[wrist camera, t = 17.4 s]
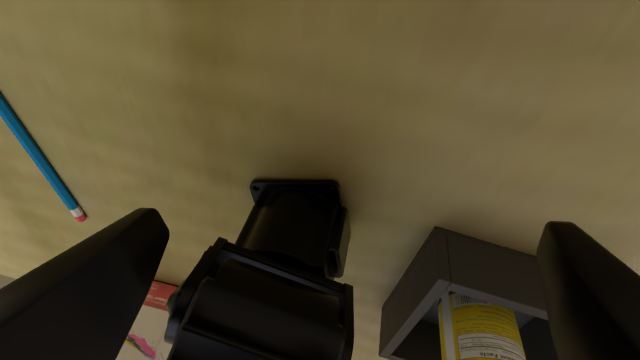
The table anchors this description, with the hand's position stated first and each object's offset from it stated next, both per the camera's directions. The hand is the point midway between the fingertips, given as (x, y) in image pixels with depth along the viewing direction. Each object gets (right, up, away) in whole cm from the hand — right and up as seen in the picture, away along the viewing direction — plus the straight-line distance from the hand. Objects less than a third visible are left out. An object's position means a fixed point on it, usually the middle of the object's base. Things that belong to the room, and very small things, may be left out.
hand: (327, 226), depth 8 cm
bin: (+12, -8, +20) cm, 25 cm away
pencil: (-23, +4, +20) cm, 30 cm away
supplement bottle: (+12, -8, +20) cm, 25 cm away
